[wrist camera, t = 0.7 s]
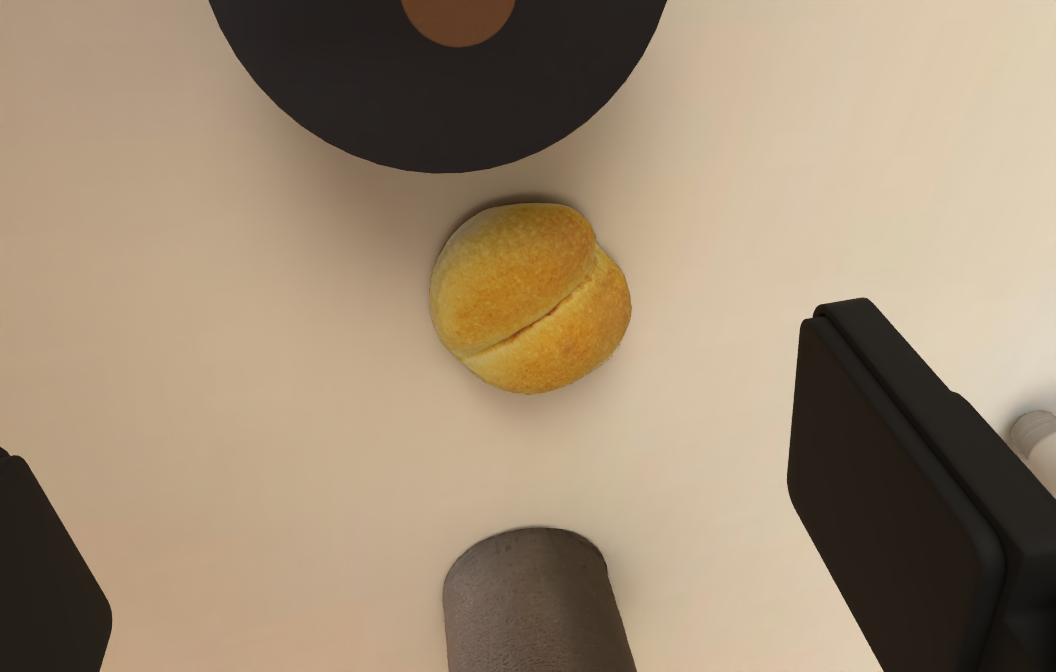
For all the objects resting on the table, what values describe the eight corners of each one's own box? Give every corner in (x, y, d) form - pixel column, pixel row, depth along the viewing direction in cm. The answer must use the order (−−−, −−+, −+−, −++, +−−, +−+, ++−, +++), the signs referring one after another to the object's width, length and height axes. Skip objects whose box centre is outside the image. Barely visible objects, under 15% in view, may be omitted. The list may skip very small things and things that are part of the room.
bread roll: (546, 157, 36) (564, 199, 33) (646, 304, 41) (670, 354, 37) (384, 264, 38) (385, 315, 34) (499, 393, 42) (510, 448, 39)
